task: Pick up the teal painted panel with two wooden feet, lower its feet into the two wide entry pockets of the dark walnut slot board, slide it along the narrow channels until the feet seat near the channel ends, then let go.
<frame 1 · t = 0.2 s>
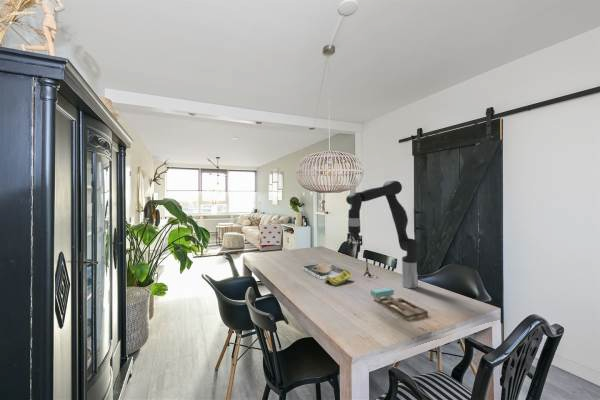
hand: (354, 250, 169), 28 cm above the table, fingers open, 8 cm apart
panel: (382, 298, 163), on the table
slot board: (403, 310, 146), on the table
eiffel tower figurine: (367, 276, 211), on the table
plastic component: (339, 282, 197), on the table
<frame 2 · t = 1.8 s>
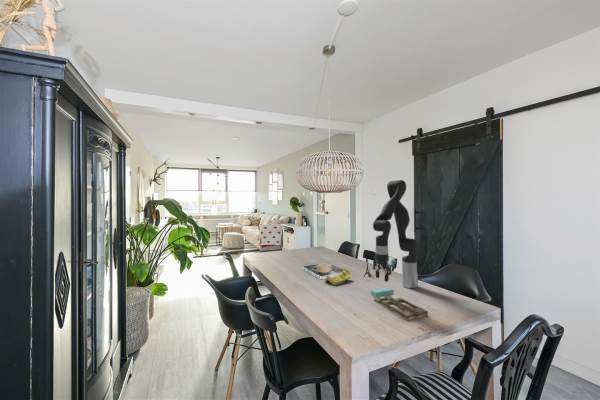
hand: (381, 279, 163), 12 cm above the table, fingers open, 8 cm apart
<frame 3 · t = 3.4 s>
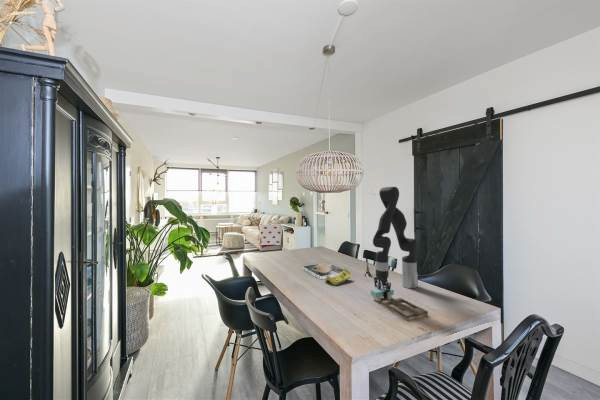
hand: (382, 296, 163), 1 cm above the table, fingers closed on panel, 5 cm apart
panel: (382, 298, 163), on the table, touching gripper
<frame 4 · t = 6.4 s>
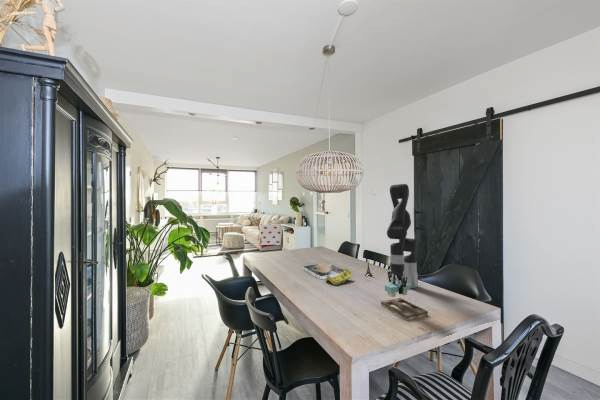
hand: (397, 292, 150), 9 cm above the table, fingers closed on panel, 5 cm apart
panel: (397, 294, 150), point 7 cm above the table, touching gripper
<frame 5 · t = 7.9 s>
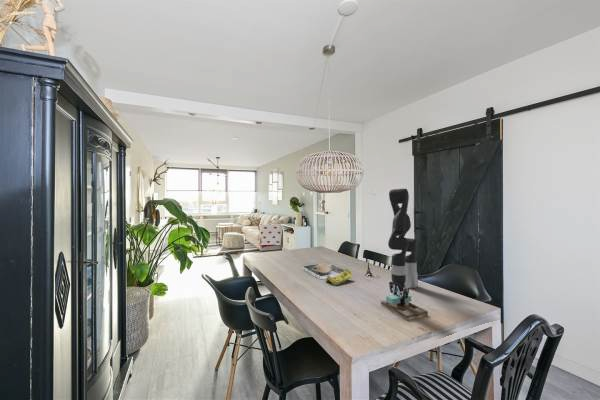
hand: (398, 303, 149), 3 cm above the table, fingers closed on panel, 5 cm apart
panel: (398, 305, 149), point 1 cm above the table, touching gripper
when the fingers open (3 cm above the table, at t = 9.5 s): panel stays where it is, resting on slot board.
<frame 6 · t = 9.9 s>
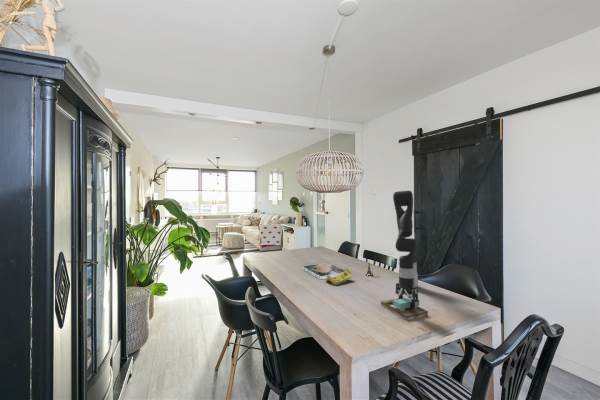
hand: (406, 305, 143), 3 cm above the table, fingers open, 8 cm apart
panel: (406, 310, 144), point 1 cm above the table, touching slot board
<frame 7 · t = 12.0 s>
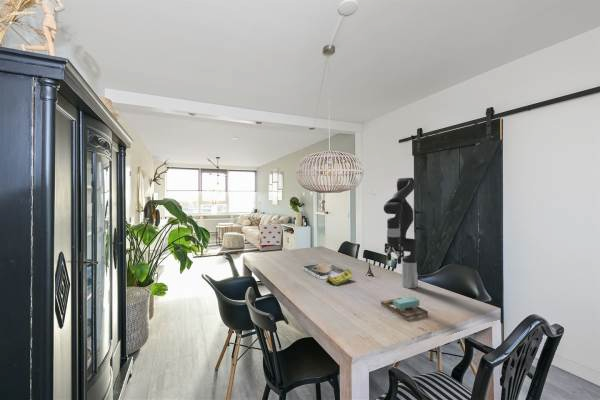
hand: (394, 262, 161), 23 cm above the table, fingers open, 8 cm apart
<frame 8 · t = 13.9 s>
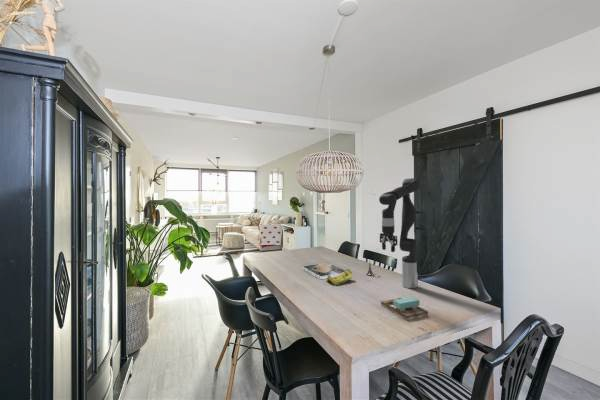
hand: (388, 250, 169), 28 cm above the table, fingers open, 8 cm apart
at the end: panel 0.4 cm from the target spot on the slot board, point 1.0 cm above the slot board's base; panel tilted 0°; the gripper is holding nothing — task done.
